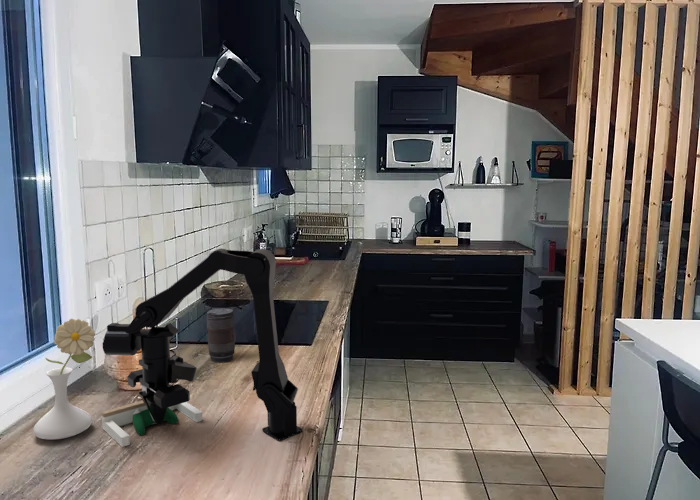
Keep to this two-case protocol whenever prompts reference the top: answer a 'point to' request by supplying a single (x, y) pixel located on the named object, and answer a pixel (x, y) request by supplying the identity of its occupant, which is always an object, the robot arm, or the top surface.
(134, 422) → the gaming controller
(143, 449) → the top surface
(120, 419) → the frame
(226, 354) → the dark grey cylinder
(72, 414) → the flower in vase
